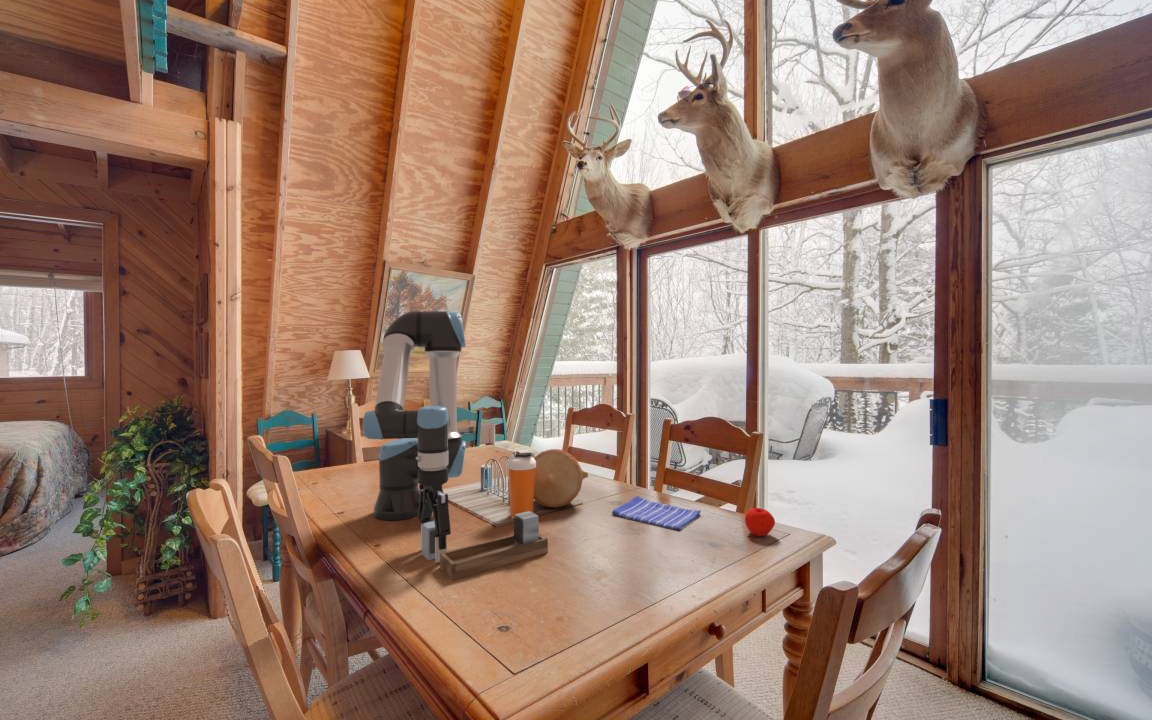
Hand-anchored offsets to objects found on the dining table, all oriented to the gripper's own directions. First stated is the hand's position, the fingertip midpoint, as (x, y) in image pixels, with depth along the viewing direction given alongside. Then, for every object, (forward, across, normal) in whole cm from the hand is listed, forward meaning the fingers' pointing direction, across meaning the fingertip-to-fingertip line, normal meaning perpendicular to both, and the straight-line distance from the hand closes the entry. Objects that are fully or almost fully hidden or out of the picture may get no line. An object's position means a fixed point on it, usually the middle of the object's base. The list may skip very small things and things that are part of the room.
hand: (433, 554), depth 130 cm
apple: (0, +41, +80) cm, 90 cm away
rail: (0, +12, +12) cm, 17 cm away
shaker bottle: (0, -12, +33) cm, 35 cm away
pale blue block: (0, 0, 0) cm, 0 cm away
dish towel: (+1, +12, +68) cm, 69 cm away
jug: (0, -20, +52) cm, 56 cm away
